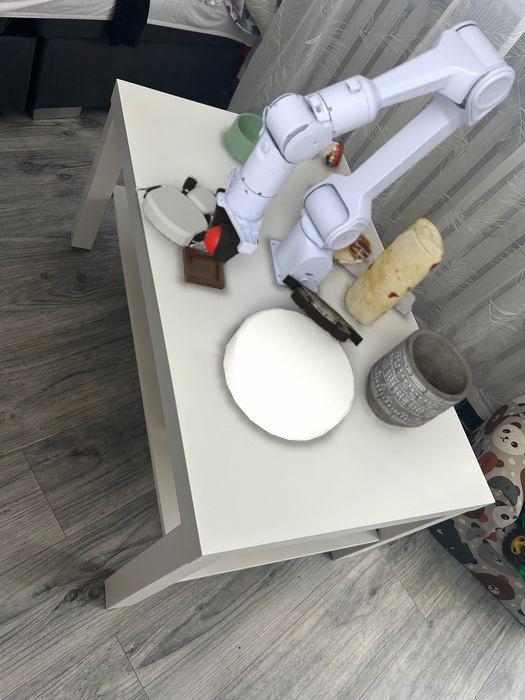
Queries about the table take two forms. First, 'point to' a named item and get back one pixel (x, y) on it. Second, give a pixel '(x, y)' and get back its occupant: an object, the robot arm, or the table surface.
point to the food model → (395, 272)
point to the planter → (418, 380)
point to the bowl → (244, 135)
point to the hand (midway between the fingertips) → (217, 247)
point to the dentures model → (335, 156)
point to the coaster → (202, 269)
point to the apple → (212, 239)
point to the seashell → (355, 251)
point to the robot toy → (180, 211)
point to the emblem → (321, 312)
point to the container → (289, 374)
